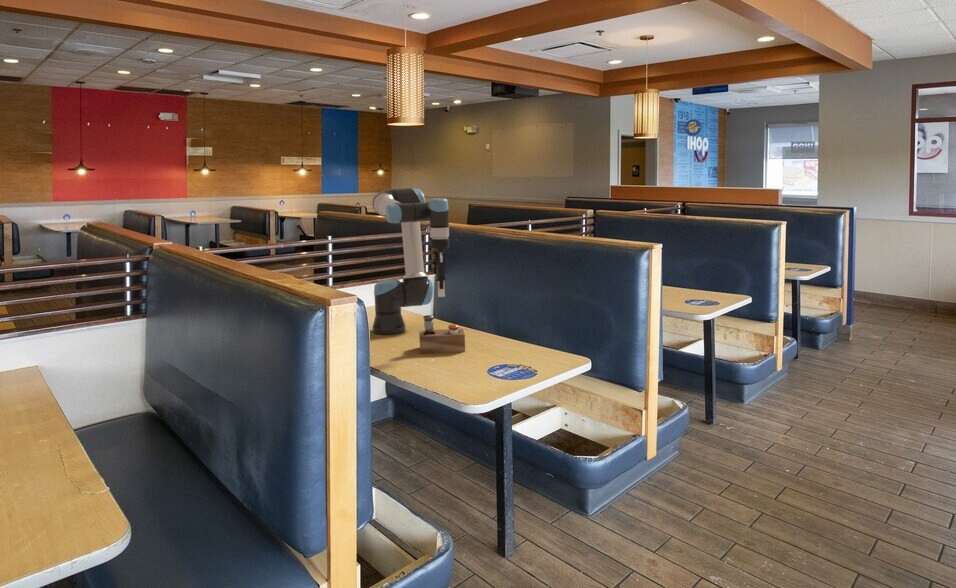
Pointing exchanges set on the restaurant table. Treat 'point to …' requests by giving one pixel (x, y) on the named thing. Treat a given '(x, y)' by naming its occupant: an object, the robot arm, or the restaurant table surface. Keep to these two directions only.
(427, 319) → the plug grey
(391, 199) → the robot arm
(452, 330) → the plug red
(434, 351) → the block
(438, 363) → the restaurant table surface
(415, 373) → the restaurant table surface
